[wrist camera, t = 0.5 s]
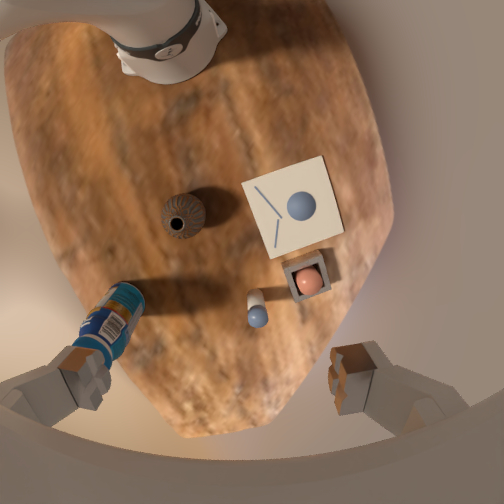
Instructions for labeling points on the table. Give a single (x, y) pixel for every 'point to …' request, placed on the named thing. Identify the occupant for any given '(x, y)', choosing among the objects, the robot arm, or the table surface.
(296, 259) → the button housing
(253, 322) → the dome-topped peg
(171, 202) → the vase
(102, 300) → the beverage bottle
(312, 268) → the button
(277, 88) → the table surface
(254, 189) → the drawing pad
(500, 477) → the robot arm
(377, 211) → the table surface
